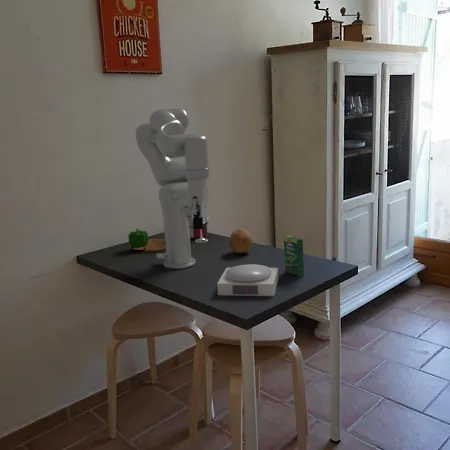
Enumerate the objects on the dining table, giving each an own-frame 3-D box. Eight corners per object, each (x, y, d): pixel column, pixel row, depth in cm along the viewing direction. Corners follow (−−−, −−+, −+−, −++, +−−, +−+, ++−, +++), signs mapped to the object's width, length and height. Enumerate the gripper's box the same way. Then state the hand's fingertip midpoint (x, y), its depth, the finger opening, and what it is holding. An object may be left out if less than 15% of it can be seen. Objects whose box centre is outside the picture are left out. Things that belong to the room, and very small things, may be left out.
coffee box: (284, 271, 185) (283, 236, 182) (290, 269, 186) (289, 234, 183) (297, 277, 178) (296, 240, 175) (304, 275, 179) (303, 239, 176)
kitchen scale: (217, 295, 165) (216, 279, 164) (227, 278, 181) (226, 263, 179) (273, 296, 161) (273, 280, 160) (278, 278, 177) (277, 263, 176)
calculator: (182, 239, 238) (180, 207, 234) (185, 236, 242) (182, 205, 238) (206, 238, 236) (204, 206, 232) (208, 236, 240) (205, 204, 236)
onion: (258, 252, 209) (257, 229, 207) (238, 258, 204) (237, 233, 201) (244, 248, 217) (243, 225, 214) (224, 253, 211) (223, 229, 209)
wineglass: (203, 243, 171) (201, 208, 168) (189, 241, 174) (187, 207, 171) (213, 239, 176) (211, 205, 173) (199, 237, 179) (197, 203, 176)
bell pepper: (133, 247, 229) (130, 225, 226) (151, 246, 227) (148, 224, 225) (127, 252, 221) (124, 230, 218) (145, 252, 219) (143, 229, 217)
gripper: (192, 170, 178) (196, 220, 183) (179, 178, 162) (183, 233, 167) (214, 169, 177) (216, 220, 182) (202, 178, 161) (205, 233, 165)
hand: (200, 226), depth 174 cm, fingers closed on wineglass, 5 cm apart
